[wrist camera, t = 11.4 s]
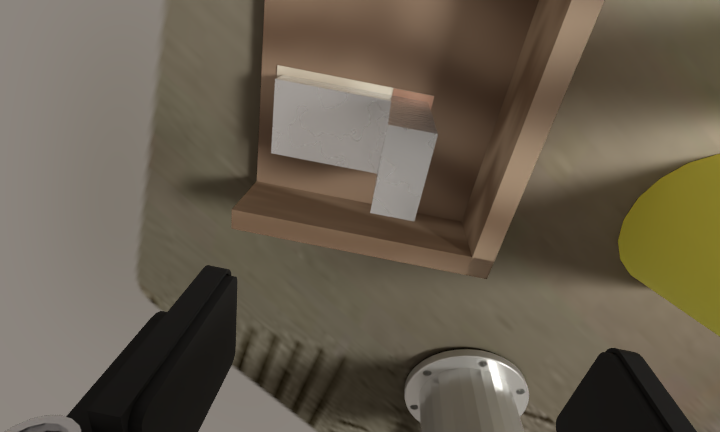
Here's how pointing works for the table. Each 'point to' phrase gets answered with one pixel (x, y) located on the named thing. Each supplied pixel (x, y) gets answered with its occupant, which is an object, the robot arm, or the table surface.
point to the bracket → (358, 137)
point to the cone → (679, 240)
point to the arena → (449, 111)
